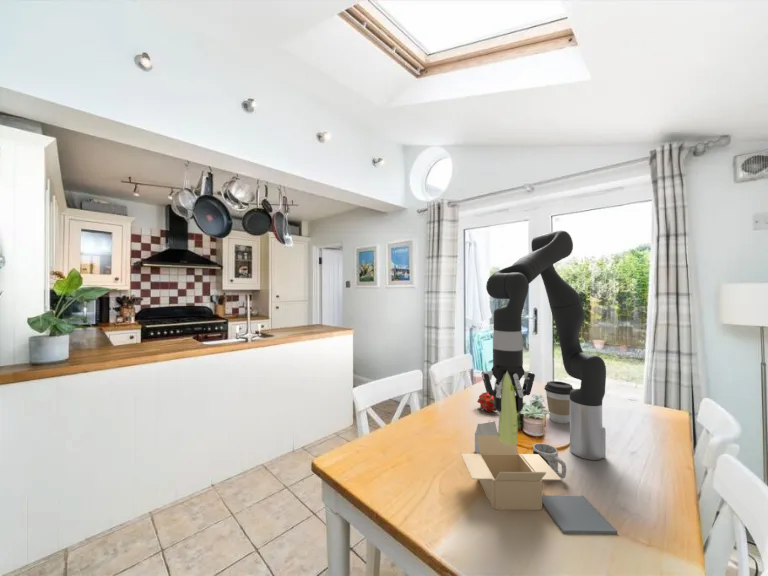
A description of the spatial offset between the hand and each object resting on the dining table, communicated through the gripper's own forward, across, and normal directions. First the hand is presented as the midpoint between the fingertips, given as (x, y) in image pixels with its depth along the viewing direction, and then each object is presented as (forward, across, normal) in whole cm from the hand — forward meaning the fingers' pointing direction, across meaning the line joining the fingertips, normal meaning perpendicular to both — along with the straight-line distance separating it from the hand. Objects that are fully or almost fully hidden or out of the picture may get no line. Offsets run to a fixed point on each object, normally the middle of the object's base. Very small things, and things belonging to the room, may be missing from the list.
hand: (508, 410), depth 84 cm
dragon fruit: (+23, -14, -58) cm, 64 cm away
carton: (+22, 0, 0) cm, 22 cm away
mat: (+22, -13, +8) cm, 27 cm away
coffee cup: (+23, -40, -48) cm, 66 cm away
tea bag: (+22, -1, -21) cm, 31 cm away
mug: (+23, -16, -9) cm, 29 cm away
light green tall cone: (+9, 0, 0) cm, 9 cm away
